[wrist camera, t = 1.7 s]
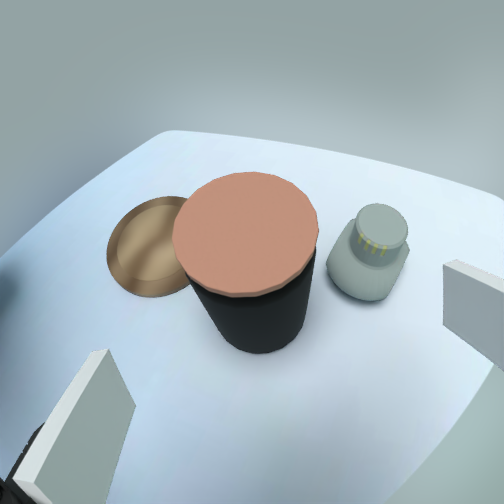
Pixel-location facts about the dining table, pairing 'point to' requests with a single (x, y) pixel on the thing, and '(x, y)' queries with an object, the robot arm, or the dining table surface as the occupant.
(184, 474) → the dining table surface
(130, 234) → the trivet
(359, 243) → the air freshener
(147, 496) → the dining table surface
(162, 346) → the dining table surface
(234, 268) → the coffee jar
